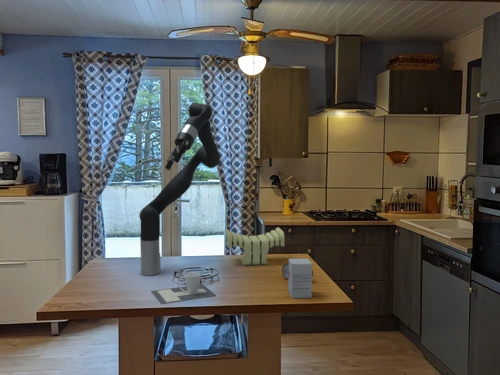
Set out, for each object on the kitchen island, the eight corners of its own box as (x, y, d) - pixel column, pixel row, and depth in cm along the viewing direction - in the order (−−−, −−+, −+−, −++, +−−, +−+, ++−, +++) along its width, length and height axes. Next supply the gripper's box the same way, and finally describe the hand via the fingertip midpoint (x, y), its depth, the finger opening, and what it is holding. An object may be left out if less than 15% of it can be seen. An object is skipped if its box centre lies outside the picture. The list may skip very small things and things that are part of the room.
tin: (313, 281, 220) (313, 264, 219) (311, 283, 217) (311, 265, 216) (283, 277, 226) (283, 260, 225) (281, 279, 223) (281, 262, 222)
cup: (200, 295, 199) (200, 276, 198) (177, 295, 198) (177, 276, 198) (201, 289, 206) (201, 272, 205) (178, 290, 205) (178, 272, 205)
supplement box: (287, 291, 204) (288, 258, 203) (307, 291, 205) (308, 258, 204) (291, 298, 195) (291, 263, 194) (312, 298, 196) (312, 263, 195)
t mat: (202, 284, 214) (202, 284, 214) (216, 296, 198) (216, 295, 198) (150, 291, 204) (150, 290, 204) (161, 304, 188) (161, 303, 188)
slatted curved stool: (228, 267, 244) (228, 233, 242) (225, 259, 260) (225, 228, 258) (284, 265, 248) (284, 232, 247) (278, 258, 264) (278, 227, 262)
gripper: (200, 135, 198) (186, 164, 189) (186, 148, 209) (171, 176, 200) (186, 125, 196) (170, 153, 187) (172, 139, 207) (157, 166, 198)
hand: (171, 165), depth 194 cm, fingers open, 8 cm apart
